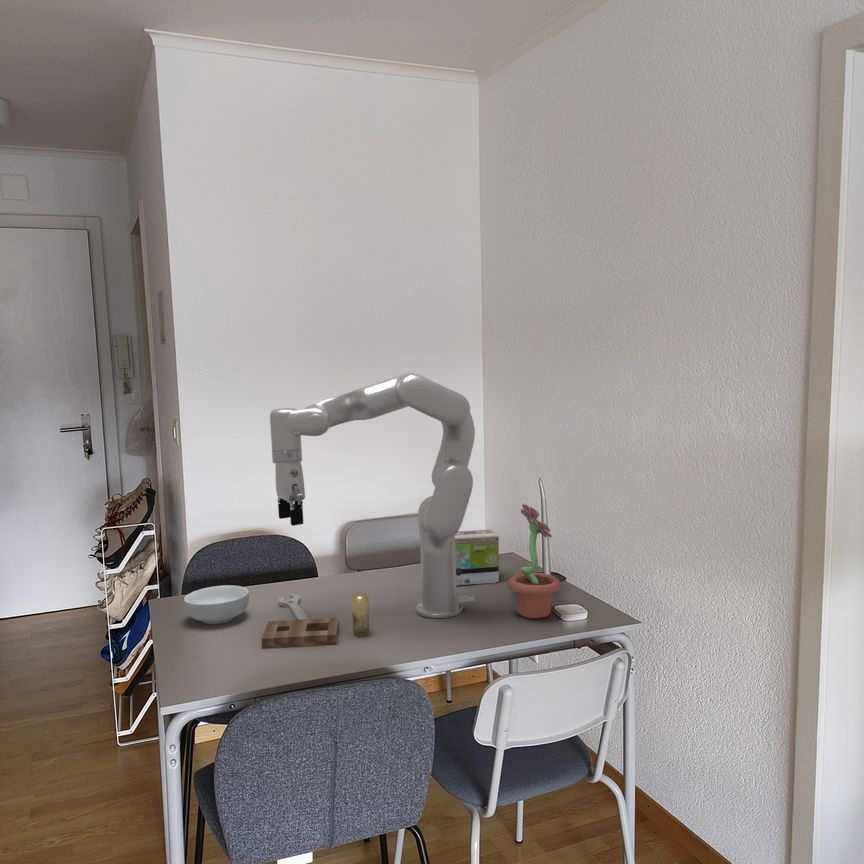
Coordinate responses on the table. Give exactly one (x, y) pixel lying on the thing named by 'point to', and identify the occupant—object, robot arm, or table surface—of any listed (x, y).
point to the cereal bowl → (216, 603)
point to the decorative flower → (534, 575)
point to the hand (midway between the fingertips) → (291, 521)
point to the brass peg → (360, 615)
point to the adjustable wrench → (293, 606)
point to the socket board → (300, 633)
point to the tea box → (477, 557)
